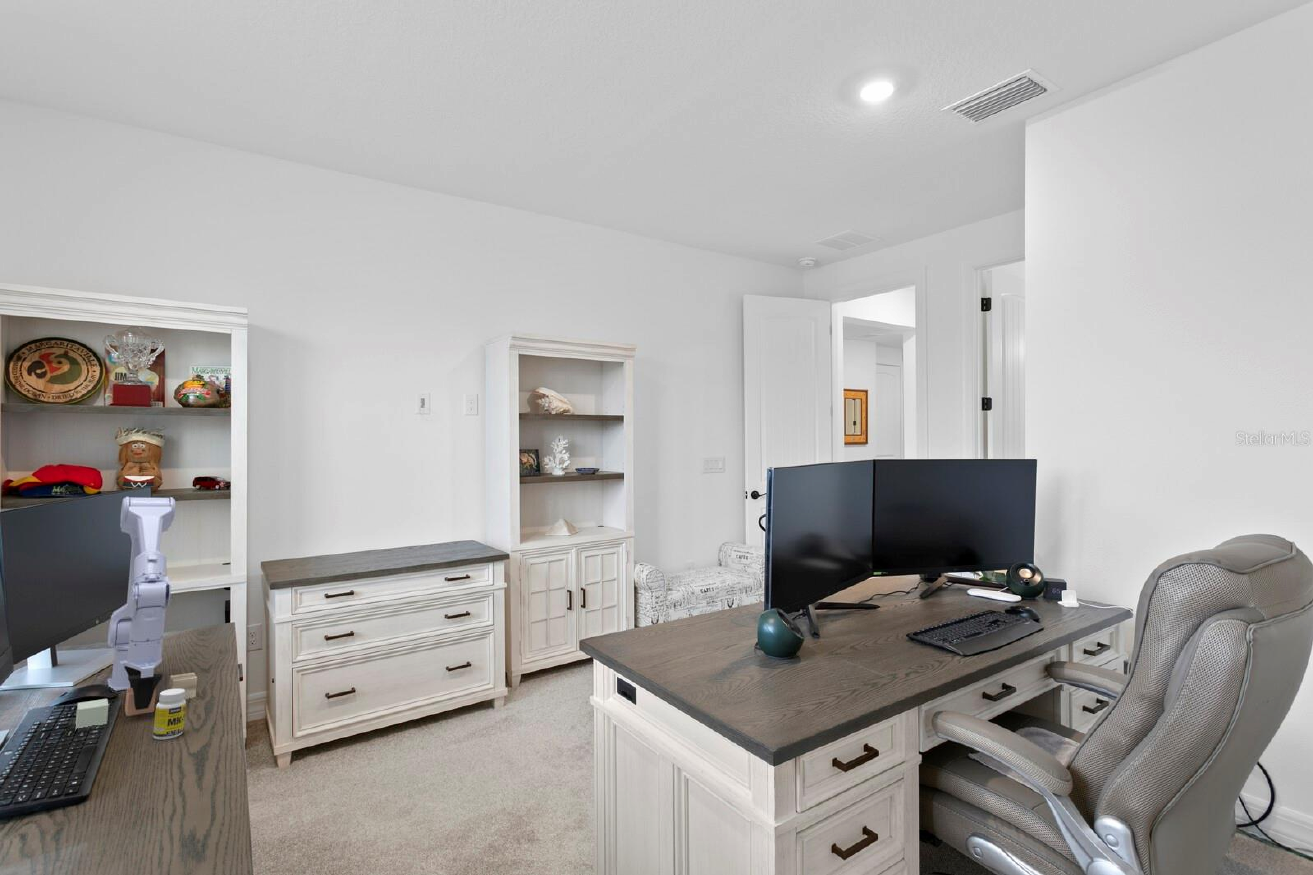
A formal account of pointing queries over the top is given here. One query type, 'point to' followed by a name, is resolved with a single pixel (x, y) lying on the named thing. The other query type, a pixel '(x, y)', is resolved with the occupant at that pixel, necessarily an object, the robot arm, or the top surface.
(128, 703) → the terracotta block
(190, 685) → the birch block
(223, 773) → the top surface
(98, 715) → the sage block
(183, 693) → the supplement bottle
